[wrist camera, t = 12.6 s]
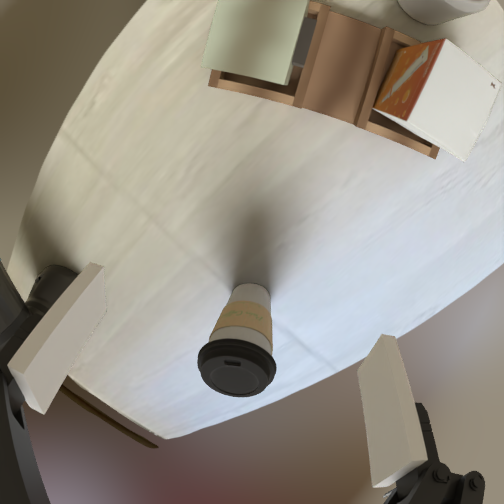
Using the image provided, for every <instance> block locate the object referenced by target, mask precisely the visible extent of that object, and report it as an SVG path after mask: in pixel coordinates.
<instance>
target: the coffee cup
mask: <svg viewBox="0 0 504 504" xmlns="http://www.w3.org/2000/svg"><path fill="white" fill-rule="evenodd" d="M272 351H273V344H272V318H271V301H270V295H269V293H268V291H267V290H266V289H265V288H264V287H262V286H260V285H257V284H252V283H246V284H241V285H239V286H237V287H236V288H235V289H234V290H233V292H232V294H231V296H230V298H229V301H228V303H227V305H226V306H225V307H224V308H223V310H222V313H221V315H220V317H219V319H218V321H217V323H216V325H215V327H214V329H213V331H212V333H211V335H210V337H209V342H208V343H207V344H206V345H204V346H203V347H202V348H201V350H200V351H199V354H198V362H197V363H198V368H199V371H200V372H201V377H202V379H203V380H204V382H205V383H206V384H207V385H208V386H209V387H210V388H212V389H213V390H215V391H217V392H219V393H222V394H224V395H228V396H233V397H250V396H254V395H257V394H259V393H261V392H262V391H263V390H264V389H265V388H266V387H267V386H268V385H269V384H270V383H271V382H272V381H273V379H274V376H275V373H276V363H275V361H274V359H273V357H272Z"/></svg>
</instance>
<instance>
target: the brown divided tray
mask: <svg viewBox="0 0 504 504" xmlns="http://www.w3.org/2000/svg"><path fill="white" fill-rule="evenodd" d="M330 8H331V6H328V5H324V4H321V3H317V2H313V1H310V0H218V3H217V6H216V10H215V13H214V17H213V21H212V24H211V28H210V32H209V35H208V39H207V43H206V47H205V51H204V55H203V59H202V63H201V68H207V69H212V71H211V76H210V80H209V84H208V86H210V87H215V88H220V89H225V90H230V91H235V92H239V93H244V94H248V95H252V96H257V97H261V98H265V99H269V100H273V101H276V102H280V103H284V104H287V105H291V106H295V107H298V108H301V109H302V108H305V109H309V110H312V111H315V112H318V113H322V114H325V115H328V116H331V117H334V118H337V119H340V120H343V121H346V122H348V123H351V124H354V125H355V126H356V127H359V128H362V129H364V130H367V131H370V132H372V133H375V134H378V135H380V136H383V137H385V138H388V139H390V140H393V141H395V142H397V143H400V144H402V145H405V146H407V147H409V148H411V149H414V150H416V151H418V152H420V153H423V154H425V155H427V156H429V157H431V158H433V159H436V157H437V154H438V151H439V149H440V147H438V146H436V145H434V144H432V143H431V142H429V141H427V140H425V139H423V138H421V137H419V136H418V135H416V134H414V133H412V132H411V131H409V130H408V129H406V128H404V127H403V126H401V125H399V124H398V123H396V122H395V121H393V120H391V119H389V118H388V117H386V116H384V115H383V114H381V113H379V112H377V111H376V110H374V109H372V107H373V104H374V101H375V98H376V95H377V93H378V91H379V89H380V87H381V85H382V82H383V80H384V78H385V76H386V74H387V72H388V70H389V68H390V65H391V63H392V61H393V59H394V56H395V54H396V51H397V50H398V49H401V48H405V47H409V46H413V45H417V44H421V43H422V42H420V41H418V40H416V39H414V38H411V37H409V36H407V35H405V34H403V33H401V32H398V31H396V30H394V29H391V28H389V27H387V26H386V27H385V28H383V29H380V28H377V27H375V26H372V25H370V24H367V23H364V22H362V21H359V20H356V19H353V18H350V17H347V16H344V15H341V14H338V13H335V12H332V11H330Z"/></svg>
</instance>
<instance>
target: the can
mask: <svg viewBox="0 0 504 504" xmlns="http://www.w3.org/2000/svg"><path fill="white" fill-rule="evenodd" d="M397 1H398V3H399V4H400V6H401V7H402V9H403V10H404V11H405V12H406V13H407V14H408V15H409V16H411V17H412V18H414V19H415V20H417V21H419V22H421V23H425V24H428V25H438V24H441V23H444V22H447V21H450V20H454V19H457V18H460V17H464V16H467V15H471V14H474V13H477V12H480V11H483V10H484V9H485V8H486V7H487V6H488V5H489V2H490V0H397Z"/></svg>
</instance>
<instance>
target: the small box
mask: <svg viewBox="0 0 504 504" xmlns="http://www.w3.org/2000/svg"><path fill="white" fill-rule="evenodd" d="M501 86H502V83H501V82H500V81H499V80H498V79H496V78H495V77H494V76H493V75H492V74H491V73H490V72H488V71H487V70H486V69H485V68H484V67H483V66H481V65H480V64H479V63H478V62H477V61H475V60H474V59H473V58H472V57H470V56H469V55H468V54H466V53H465V52H464V51H463V50H461V49H460V48H459V47H457V46H456V45H455V44H453V43H452V42H451V41H449V40H448V39H446V38H444V39H440V40H435V41H430V42H426V43H421V44H417V45H413V46H409V47H405V48H401V49H398V50H397V51H396V54H395V56H394V59H393V61H392V63H391V65H390V68H389V70H388V72H387V74H386V76H385V78H384V80H383V82H382V85H381V87H380V89H379V91H378V93H377V95H376V98H375V101H374V104H373V107H372V109H374V110H376V111H377V112H379V113H381V114H383V115H384V116H386V117H388V118H389V119H391V120H393V121H395V122H396V123H398V124H399V125H401V126H403V127H404V128H406V129H408V130H409V131H411V132H412V133H414V134H416V135H418V136H419V137H421V138H423V139H425V140H427V141H429V142H431V143H432V144H434V145H436V146H438V147H440V148H441V149H443V150H445V151H447V152H448V153H450V154H452V155H454V156H455V157H457V158H458V159H460V160H461V161H463V162H465V161H466V160H467V158H468V156H469V155H470V153H471V151H472V149H473V147H474V145H475V143H476V141H477V139H478V137H479V136H480V134H481V132H482V130H483V128H484V126H485V125H486V123H487V121H488V118H489V116H490V113H491V110H492V108H493V105H494V103H495V101H496V98H497V96H498V93H499V91H500V88H501Z"/></svg>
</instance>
